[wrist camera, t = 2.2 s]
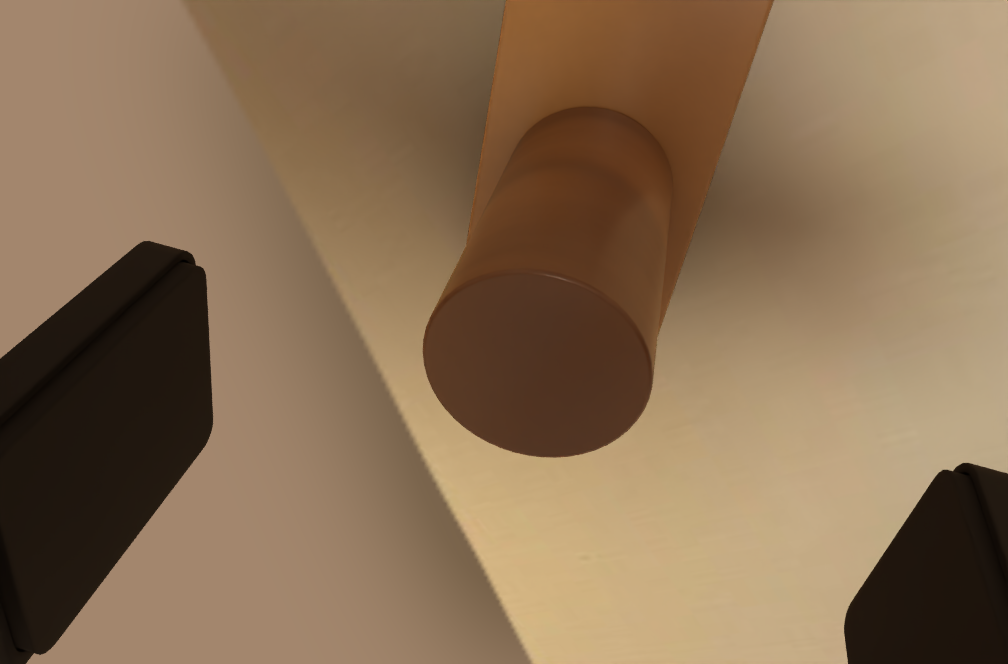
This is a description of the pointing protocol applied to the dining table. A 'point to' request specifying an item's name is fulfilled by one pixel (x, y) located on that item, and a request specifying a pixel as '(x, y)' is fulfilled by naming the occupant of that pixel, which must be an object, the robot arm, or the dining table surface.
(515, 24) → the stamp
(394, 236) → the dining table surface
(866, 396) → the dining table surface
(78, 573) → the robot arm
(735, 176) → the dining table surface
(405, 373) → the dining table surface
